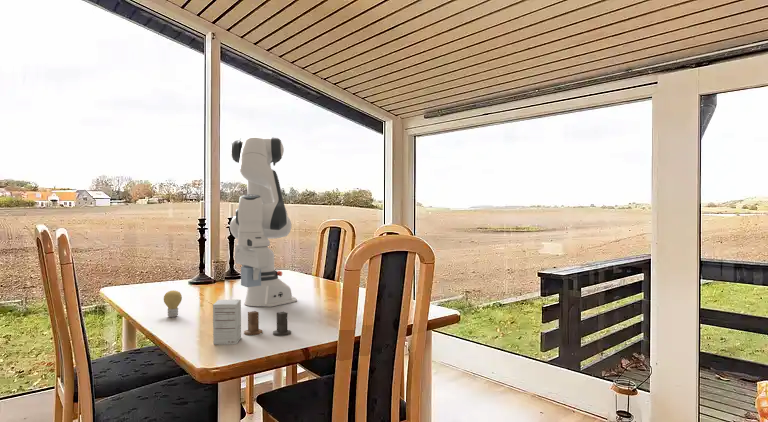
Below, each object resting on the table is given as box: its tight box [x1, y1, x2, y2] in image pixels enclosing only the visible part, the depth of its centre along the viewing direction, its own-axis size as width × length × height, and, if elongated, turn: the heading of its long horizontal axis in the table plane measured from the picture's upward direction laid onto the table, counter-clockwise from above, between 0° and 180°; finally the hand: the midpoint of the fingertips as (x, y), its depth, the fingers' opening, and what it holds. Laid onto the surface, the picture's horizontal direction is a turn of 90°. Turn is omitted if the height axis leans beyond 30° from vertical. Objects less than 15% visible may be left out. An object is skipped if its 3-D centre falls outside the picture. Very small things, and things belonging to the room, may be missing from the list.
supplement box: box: [212, 299, 242, 345], centre depth 156 cm, size 7×7×13 cm
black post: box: [272, 311, 292, 337], centre depth 165 cm, size 6×6×7 cm
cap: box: [240, 266, 261, 288], centre depth 175 cm, size 5×5×7 cm
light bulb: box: [163, 289, 183, 318], centre depth 189 cm, size 6×6×10 cm
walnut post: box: [243, 310, 263, 336], centre depth 166 cm, size 6×6×7 cm
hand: (251, 278), depth 175 cm, fingers closed on cap, 5 cm apart
